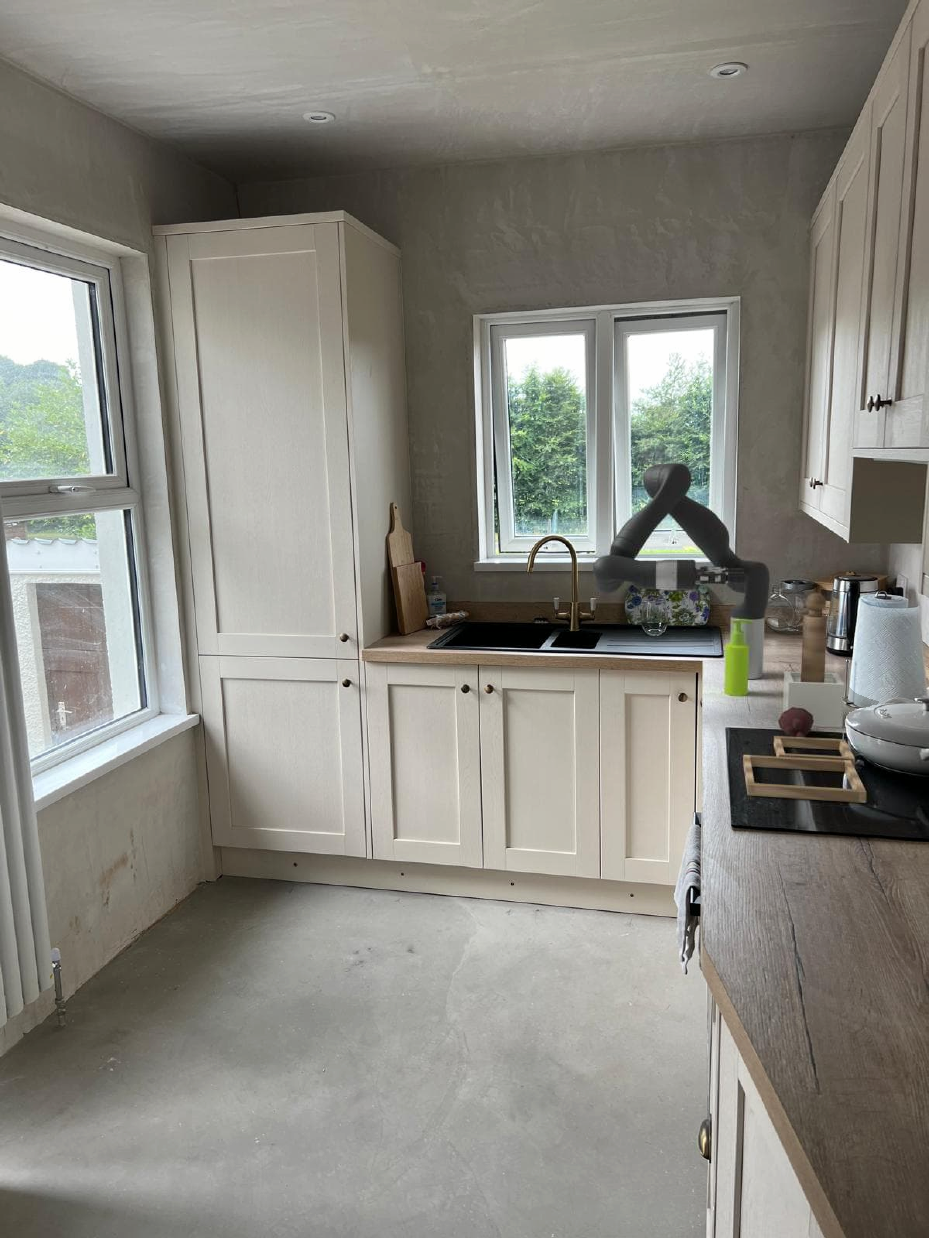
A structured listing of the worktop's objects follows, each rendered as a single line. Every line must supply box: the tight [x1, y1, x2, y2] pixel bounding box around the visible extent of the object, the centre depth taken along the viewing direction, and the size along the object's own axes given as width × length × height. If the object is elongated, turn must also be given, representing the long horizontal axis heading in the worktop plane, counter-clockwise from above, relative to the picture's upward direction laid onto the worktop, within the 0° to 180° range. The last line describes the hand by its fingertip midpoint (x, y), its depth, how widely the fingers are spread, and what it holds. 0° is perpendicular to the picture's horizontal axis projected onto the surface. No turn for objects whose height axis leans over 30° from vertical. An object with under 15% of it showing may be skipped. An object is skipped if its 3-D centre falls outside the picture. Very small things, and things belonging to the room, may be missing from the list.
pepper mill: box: [800, 592, 828, 683], centre depth 214 cm, size 5×5×22 cm
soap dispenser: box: [723, 619, 754, 697], centre depth 242 cm, size 6×7×20 cm
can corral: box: [773, 735, 856, 768], centre depth 191 cm, size 13×14×2 cm
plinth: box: [782, 670, 845, 729], centre depth 217 cm, size 12×12×10 cm
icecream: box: [778, 707, 814, 738], centre depth 204 cm, size 7×8×15 cm
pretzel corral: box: [742, 754, 867, 804], centre depth 175 cm, size 18×20×2 cm
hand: (744, 575), depth 220 cm, fingers open, 8 cm apart
